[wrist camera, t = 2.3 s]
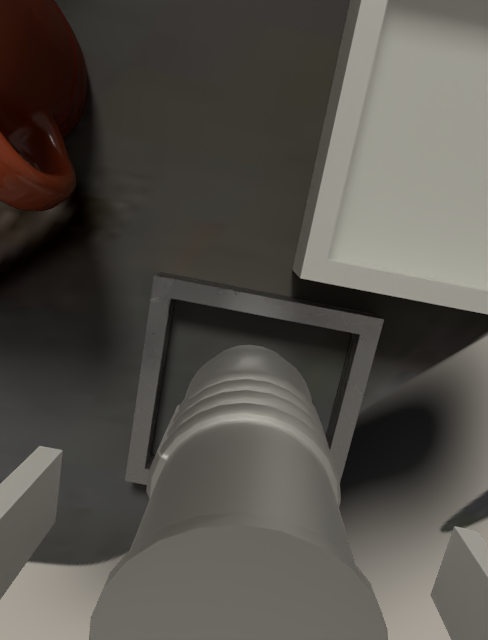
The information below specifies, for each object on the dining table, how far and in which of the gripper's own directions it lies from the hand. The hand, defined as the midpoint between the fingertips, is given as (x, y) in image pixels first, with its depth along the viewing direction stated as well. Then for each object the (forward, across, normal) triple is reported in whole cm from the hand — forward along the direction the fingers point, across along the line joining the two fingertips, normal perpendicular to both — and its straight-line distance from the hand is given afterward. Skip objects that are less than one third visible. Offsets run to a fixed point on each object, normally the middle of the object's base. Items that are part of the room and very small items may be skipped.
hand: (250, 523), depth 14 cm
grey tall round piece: (+11, 0, 0) cm, 11 cm away
